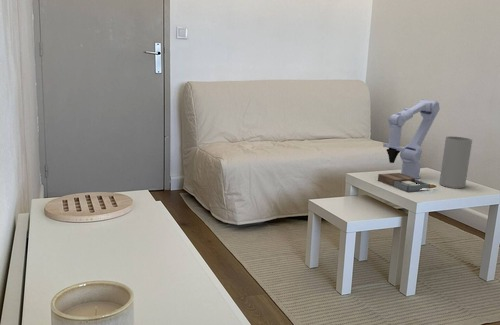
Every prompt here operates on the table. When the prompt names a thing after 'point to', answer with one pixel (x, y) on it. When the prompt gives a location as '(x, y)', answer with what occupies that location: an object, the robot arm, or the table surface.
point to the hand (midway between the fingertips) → (391, 162)
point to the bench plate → (394, 178)
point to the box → (411, 188)
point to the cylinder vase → (455, 162)
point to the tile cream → (407, 182)
